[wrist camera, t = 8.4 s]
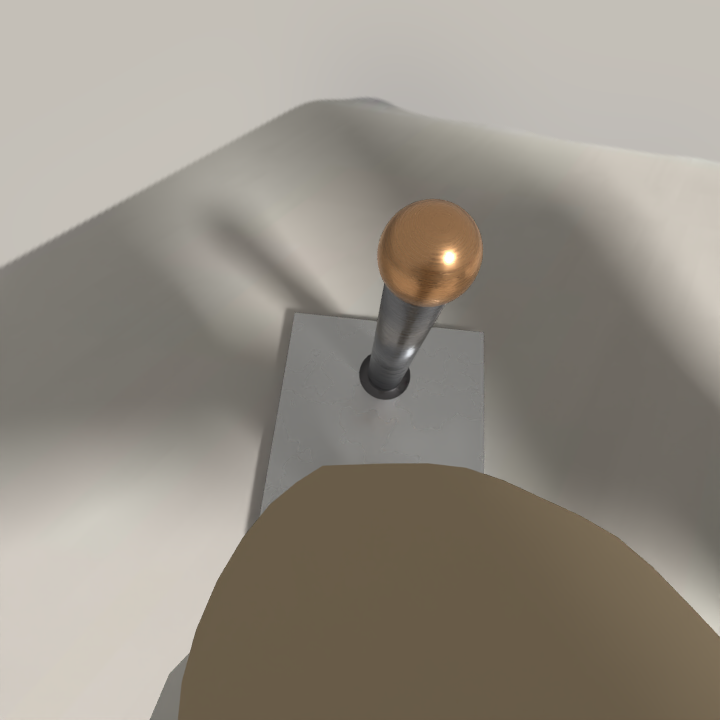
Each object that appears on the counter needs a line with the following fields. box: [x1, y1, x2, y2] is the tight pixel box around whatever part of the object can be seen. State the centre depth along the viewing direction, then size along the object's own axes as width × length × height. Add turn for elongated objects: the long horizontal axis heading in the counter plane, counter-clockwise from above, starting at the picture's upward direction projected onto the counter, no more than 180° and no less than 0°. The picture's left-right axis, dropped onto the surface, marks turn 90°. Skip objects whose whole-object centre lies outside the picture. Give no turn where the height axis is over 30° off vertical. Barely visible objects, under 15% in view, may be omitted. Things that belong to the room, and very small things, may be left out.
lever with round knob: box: [368, 199, 483, 391], centre depth 17 cm, size 3×3×16 cm
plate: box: [260, 312, 484, 516], centre depth 24 cm, size 14×16×1 cm
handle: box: [178, 463, 720, 720], centre depth 11 cm, size 5×6×15 cm
